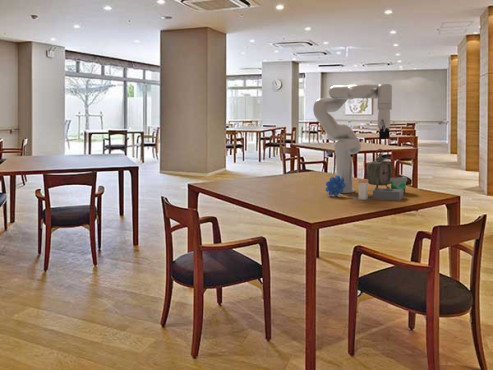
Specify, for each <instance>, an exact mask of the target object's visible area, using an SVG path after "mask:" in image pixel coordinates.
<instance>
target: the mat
mask: <svg viewBox="0 0 493 370" xmlns="http://www.w3.org/2000/svg"><path fill="white" fill-rule="evenodd" d="M372 200H374V199H373V197H368V199H366V200H363V199H359V196H356V197H354V198H352V199H351V201H360V202H361V201H363V202H371V201H372Z"/></svg>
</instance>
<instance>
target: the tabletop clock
mask: <svg viewBox="0 0 493 370" xmlns="http://www.w3.org/2000/svg"><path fill="white" fill-rule="evenodd" d="M379 151H381V152H382V153H378V152H379ZM383 154H384V149H382V148H379V149H377V150H376V152H375V155H376V156H377V157H376V158H375V159H374V160H373V161H370V162H368V163H367V165H366V179H368V185H372V186H375V188H374V190H375V189H377V188H379V186H381V187H382V186H383V187H384V186H385V187H386V189H391V187H390V186H389V185H391V181H390V178H393V176H394V175H393V174H394V173H393V171H394V170H393V168H394V167H393V163H392V161H390V160H385V158H384V156H382V155H383Z"/></svg>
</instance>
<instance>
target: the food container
mask: <svg viewBox="0 0 493 370" xmlns="http://www.w3.org/2000/svg"><path fill="white" fill-rule="evenodd" d="M390 181H391V183H390V189H403V195H404V194H406V188H407V182H408V177H407V176H406V175H401V176H400V177H398V176H397V177H392V178H390Z"/></svg>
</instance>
